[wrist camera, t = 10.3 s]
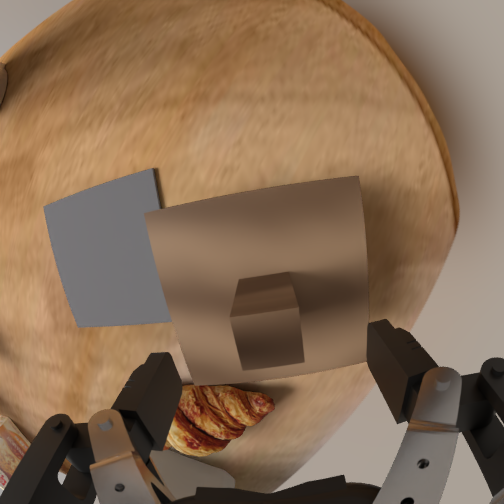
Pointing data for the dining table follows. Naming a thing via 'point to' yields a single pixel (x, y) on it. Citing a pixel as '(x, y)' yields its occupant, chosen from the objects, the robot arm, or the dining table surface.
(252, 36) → the dining table surface
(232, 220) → the lid
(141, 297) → the plate
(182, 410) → the croissant
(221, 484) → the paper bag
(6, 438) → the coffeecake box
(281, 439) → the dining table surface
